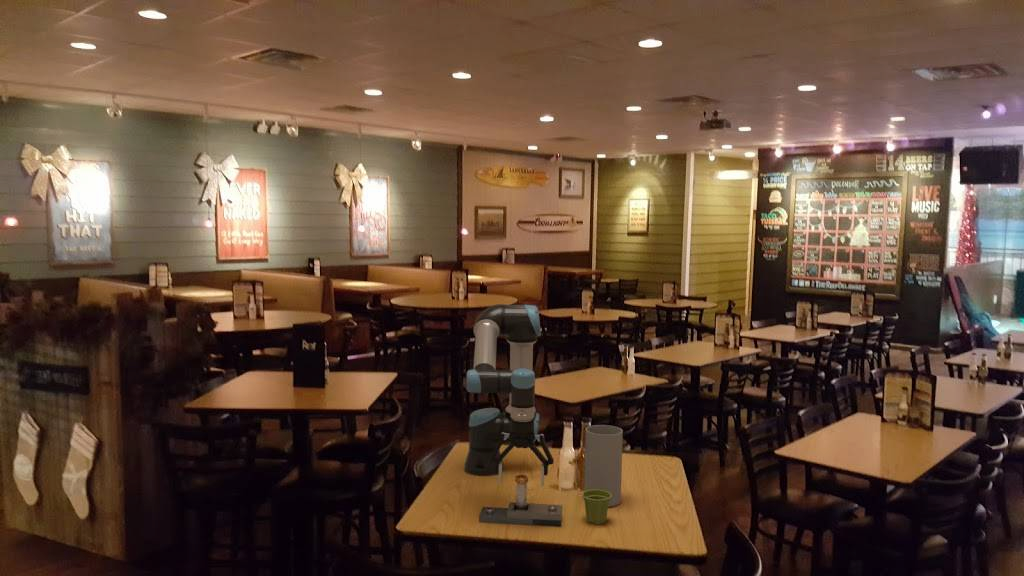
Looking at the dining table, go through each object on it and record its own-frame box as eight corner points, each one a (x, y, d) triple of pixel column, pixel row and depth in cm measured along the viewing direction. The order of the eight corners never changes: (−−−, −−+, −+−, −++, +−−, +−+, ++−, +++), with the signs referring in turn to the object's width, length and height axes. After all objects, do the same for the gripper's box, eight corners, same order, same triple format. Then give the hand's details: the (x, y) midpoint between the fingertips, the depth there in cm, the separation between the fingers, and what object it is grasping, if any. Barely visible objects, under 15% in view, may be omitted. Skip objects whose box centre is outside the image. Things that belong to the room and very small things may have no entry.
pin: (511, 518, 237) (512, 476, 236) (522, 516, 240) (523, 474, 239) (519, 523, 234) (520, 480, 233) (530, 520, 236) (530, 477, 235)
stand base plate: (478, 522, 234) (479, 507, 234) (482, 512, 242) (482, 498, 242) (560, 526, 232) (561, 511, 231) (562, 517, 239) (562, 502, 239)
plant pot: (587, 527, 231) (588, 500, 230) (577, 516, 240) (577, 490, 239) (615, 525, 234) (616, 498, 233) (604, 514, 243) (604, 488, 242)
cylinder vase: (593, 492, 263) (595, 423, 261) (626, 499, 256) (628, 428, 254) (578, 503, 252) (579, 431, 250) (612, 510, 245) (613, 437, 244)
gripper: (481, 420, 232) (481, 485, 234) (561, 423, 229) (559, 490, 231) (485, 414, 239) (484, 477, 241) (562, 417, 237) (560, 481, 239)
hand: (521, 483), depth 236 cm, fingers open, 13 cm apart
